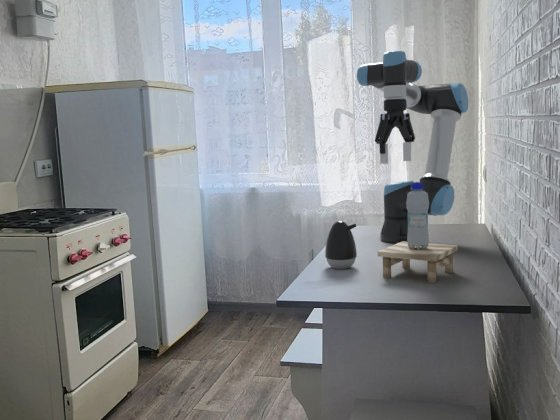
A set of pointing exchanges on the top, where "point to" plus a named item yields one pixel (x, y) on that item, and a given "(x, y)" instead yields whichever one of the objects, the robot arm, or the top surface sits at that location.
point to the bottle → (417, 217)
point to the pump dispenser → (341, 246)
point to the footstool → (419, 257)
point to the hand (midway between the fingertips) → (396, 162)
